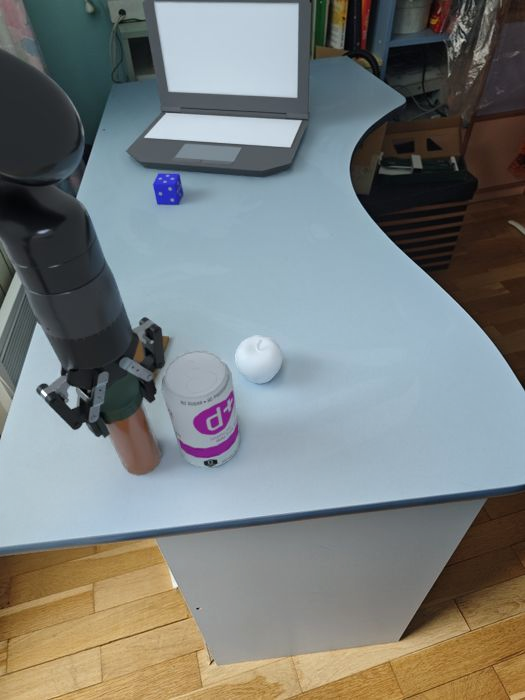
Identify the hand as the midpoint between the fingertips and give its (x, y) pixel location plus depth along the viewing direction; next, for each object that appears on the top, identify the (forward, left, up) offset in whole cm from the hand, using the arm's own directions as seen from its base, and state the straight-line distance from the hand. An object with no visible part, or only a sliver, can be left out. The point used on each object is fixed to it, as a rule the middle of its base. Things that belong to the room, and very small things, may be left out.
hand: (126, 414), depth 57 cm
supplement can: (+4, -8, -11) cm, 14 cm away
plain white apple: (+17, -13, -11) cm, 24 cm away
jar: (0, +1, -11) cm, 11 cm away
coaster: (+18, +8, -11) cm, 22 cm away
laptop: (+94, +9, -11) cm, 95 cm away
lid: (0, +1, +3) cm, 3 cm away
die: (+67, +15, -11) cm, 69 cm away
